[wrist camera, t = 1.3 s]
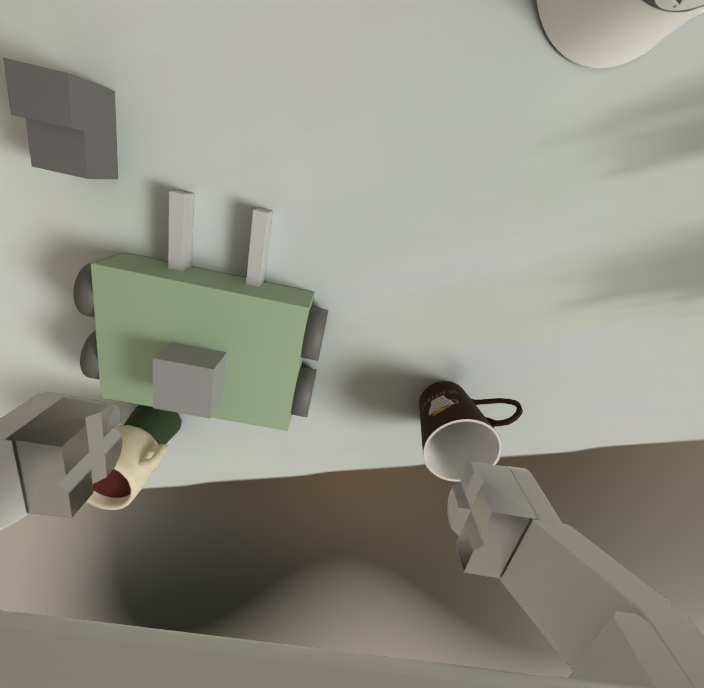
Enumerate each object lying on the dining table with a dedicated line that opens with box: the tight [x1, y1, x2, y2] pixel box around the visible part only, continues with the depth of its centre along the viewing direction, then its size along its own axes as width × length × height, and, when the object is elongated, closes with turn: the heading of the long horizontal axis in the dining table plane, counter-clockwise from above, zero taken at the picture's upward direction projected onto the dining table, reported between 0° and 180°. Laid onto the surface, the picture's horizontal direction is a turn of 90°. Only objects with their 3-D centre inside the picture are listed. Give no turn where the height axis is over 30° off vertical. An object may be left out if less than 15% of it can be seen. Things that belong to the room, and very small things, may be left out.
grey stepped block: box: [4, 58, 118, 179], centre depth 34 cm, size 8×5×6 cm, turn 168°
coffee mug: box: [419, 382, 523, 481], centre depth 45 cm, size 12×9×10 cm
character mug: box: [86, 404, 182, 510], centre depth 45 cm, size 11×7×13 cm, turn 106°
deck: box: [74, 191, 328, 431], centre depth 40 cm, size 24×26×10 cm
